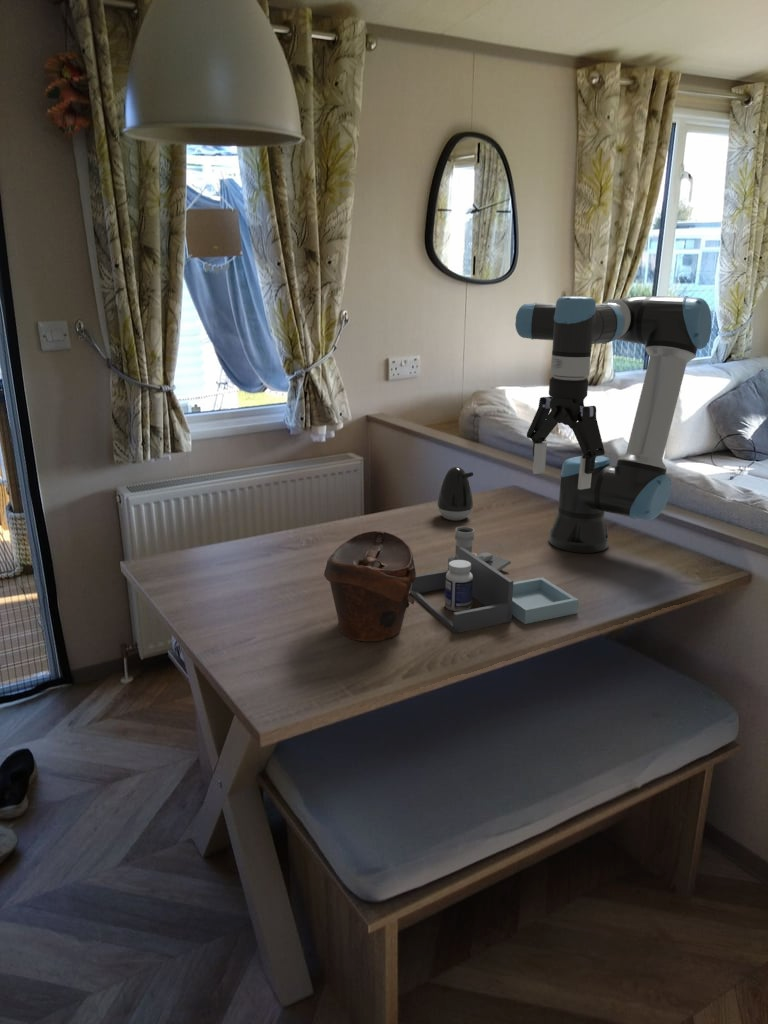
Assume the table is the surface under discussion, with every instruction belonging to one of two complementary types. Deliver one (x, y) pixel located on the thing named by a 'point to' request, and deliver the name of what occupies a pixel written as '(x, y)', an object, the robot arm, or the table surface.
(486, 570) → the stand
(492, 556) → the camera
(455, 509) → the pump dispenser
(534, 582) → the tray
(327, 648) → the table surface
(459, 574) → the pill bottle
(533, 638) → the table surface
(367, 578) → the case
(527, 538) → the table surface
